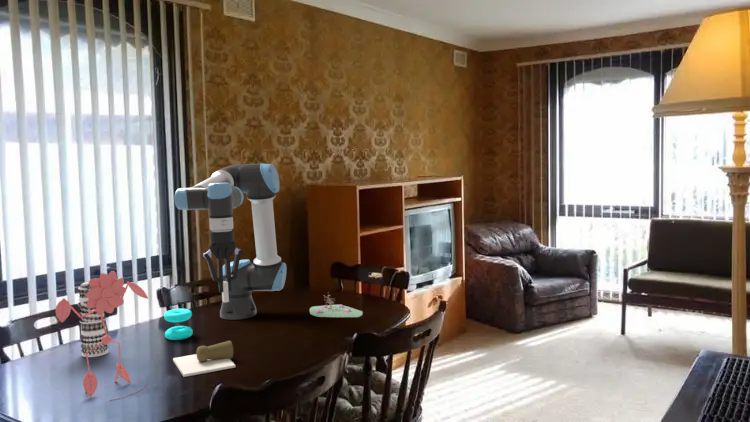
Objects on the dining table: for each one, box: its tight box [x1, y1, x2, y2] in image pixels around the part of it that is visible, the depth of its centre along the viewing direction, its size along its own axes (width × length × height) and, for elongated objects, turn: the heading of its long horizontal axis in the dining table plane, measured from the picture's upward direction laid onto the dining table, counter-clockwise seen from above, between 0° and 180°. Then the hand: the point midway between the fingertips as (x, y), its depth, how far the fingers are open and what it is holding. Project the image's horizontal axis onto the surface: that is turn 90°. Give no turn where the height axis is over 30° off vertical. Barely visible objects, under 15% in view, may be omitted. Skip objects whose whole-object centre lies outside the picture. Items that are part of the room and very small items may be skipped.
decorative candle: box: [76, 281, 109, 358], centre depth 212 cm, size 9×9×25 cm
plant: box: [309, 291, 364, 318], centre depth 262 cm, size 25×21×9 cm
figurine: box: [55, 270, 149, 402], centre depth 175 cm, size 15×26×35 cm, turn 143°
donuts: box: [163, 308, 194, 341], centre depth 230 cm, size 10×10×10 cm
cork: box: [195, 340, 234, 362], centre depth 201 cm, size 6×6×11 cm
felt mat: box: [172, 353, 236, 378], centre depth 199 cm, size 18×16×1 cm
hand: (225, 301), depth 201 cm, fingers closed
